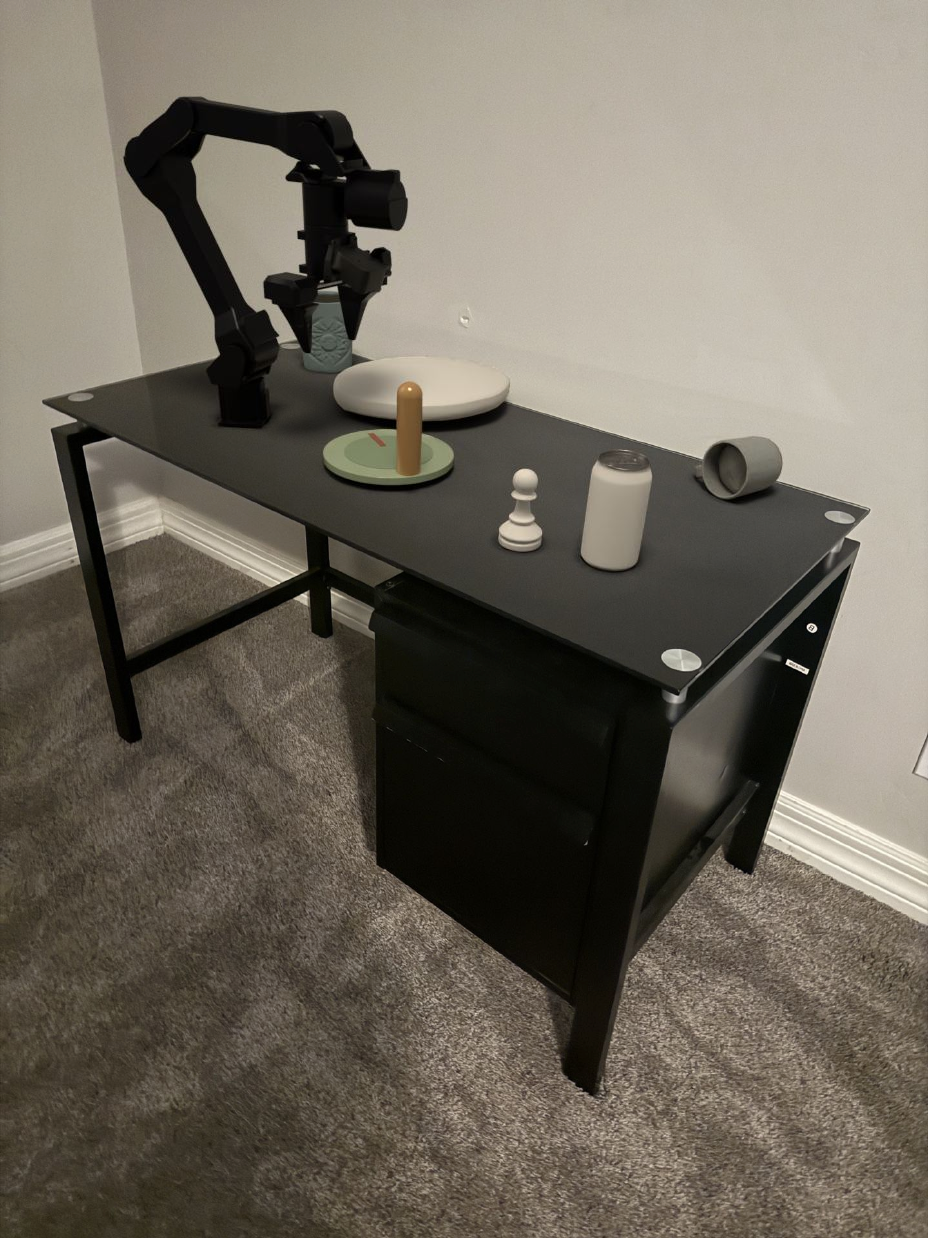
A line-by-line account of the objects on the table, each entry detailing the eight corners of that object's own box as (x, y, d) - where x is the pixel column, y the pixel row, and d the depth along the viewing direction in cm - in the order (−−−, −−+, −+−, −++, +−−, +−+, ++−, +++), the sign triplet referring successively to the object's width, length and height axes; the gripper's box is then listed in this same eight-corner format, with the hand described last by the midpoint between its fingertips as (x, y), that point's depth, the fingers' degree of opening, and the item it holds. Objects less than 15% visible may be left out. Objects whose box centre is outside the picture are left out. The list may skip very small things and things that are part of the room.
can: (575, 545, 101) (588, 447, 95) (629, 545, 102) (646, 448, 95) (586, 572, 96) (600, 470, 89) (643, 573, 96) (662, 471, 90)
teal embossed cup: (331, 377, 151) (329, 305, 144) (286, 366, 155) (282, 296, 149) (366, 364, 158) (365, 295, 152) (322, 354, 162) (319, 287, 156)
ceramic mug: (780, 495, 116) (793, 440, 112) (740, 508, 112) (753, 451, 108) (718, 469, 124) (728, 416, 120) (678, 480, 119) (688, 426, 115)
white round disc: (312, 394, 128) (351, 347, 150) (319, 436, 131) (355, 385, 154) (503, 389, 125) (513, 342, 147) (504, 433, 128) (514, 380, 151)
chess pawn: (539, 533, 103) (547, 462, 99) (542, 553, 99) (550, 480, 94) (497, 531, 103) (503, 460, 98) (498, 551, 99) (504, 477, 94)
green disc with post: (306, 443, 121) (302, 352, 115) (423, 430, 128) (425, 343, 122) (348, 492, 108) (345, 393, 101) (475, 474, 115) (481, 380, 108)
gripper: (324, 239, 102) (329, 372, 110) (419, 223, 115) (417, 344, 123) (255, 227, 107) (265, 355, 115) (354, 213, 120) (356, 329, 128)
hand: (330, 346), depth 120 cm, fingers open, 9 cm apart
